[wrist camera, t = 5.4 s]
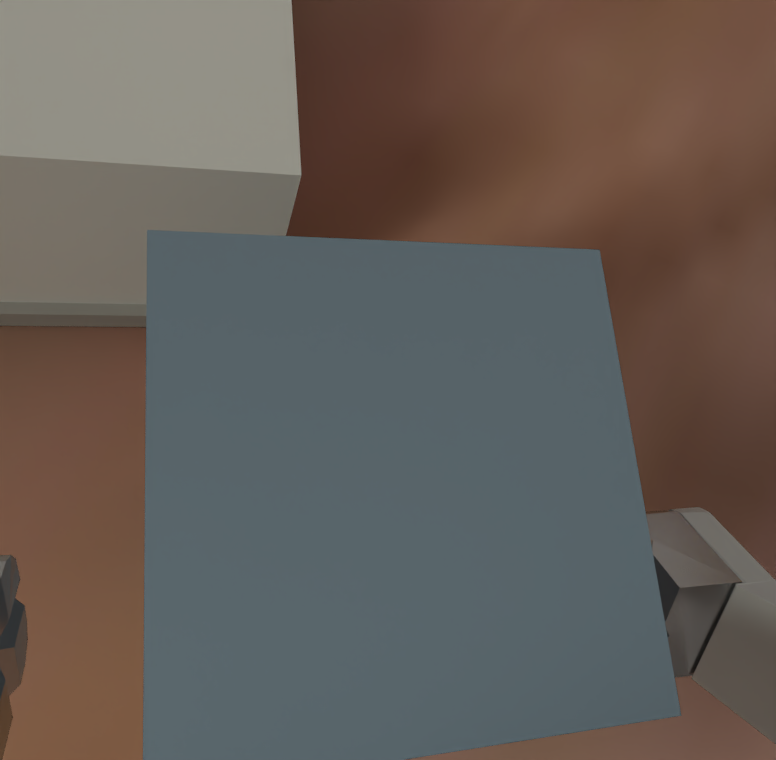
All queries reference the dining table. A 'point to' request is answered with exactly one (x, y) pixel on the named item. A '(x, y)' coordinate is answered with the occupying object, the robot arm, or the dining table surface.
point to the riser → (135, 143)
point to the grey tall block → (388, 502)
